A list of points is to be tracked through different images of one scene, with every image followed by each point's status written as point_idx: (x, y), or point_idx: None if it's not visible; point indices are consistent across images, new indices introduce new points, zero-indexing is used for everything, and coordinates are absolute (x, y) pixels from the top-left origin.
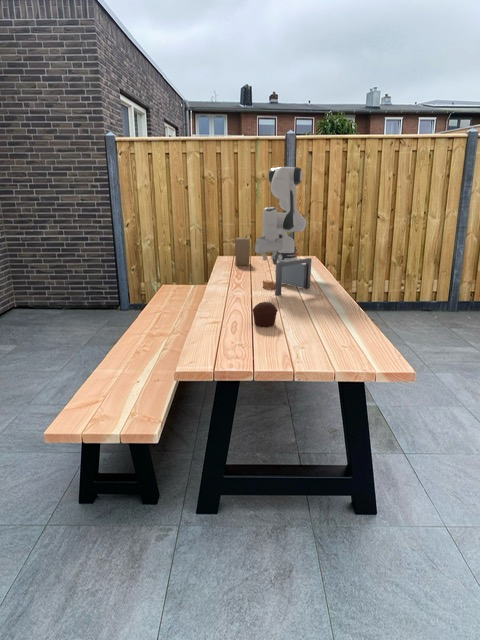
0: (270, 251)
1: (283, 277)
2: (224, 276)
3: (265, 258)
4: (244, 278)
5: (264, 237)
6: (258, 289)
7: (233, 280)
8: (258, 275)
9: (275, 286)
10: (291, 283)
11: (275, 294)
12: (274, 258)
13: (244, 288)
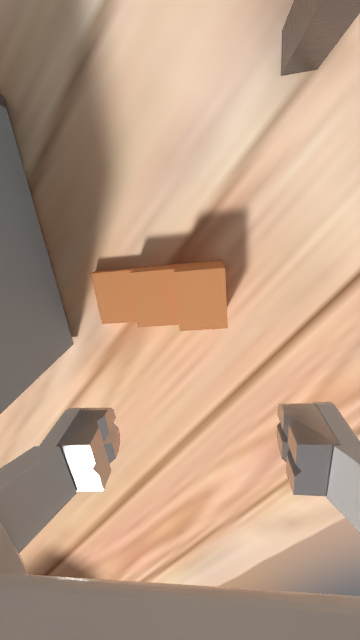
0: (220, 615)
1: (41, 322)
2: (220, 553)
3: (337, 423)
4: (170, 494)
5: None
6: (285, 287)
7: (241, 495)
8: (79, 497)
9: (354, 18)
10: (35, 238)
11: (317, 64)
12: (76, 409)
13: (331, 353)
